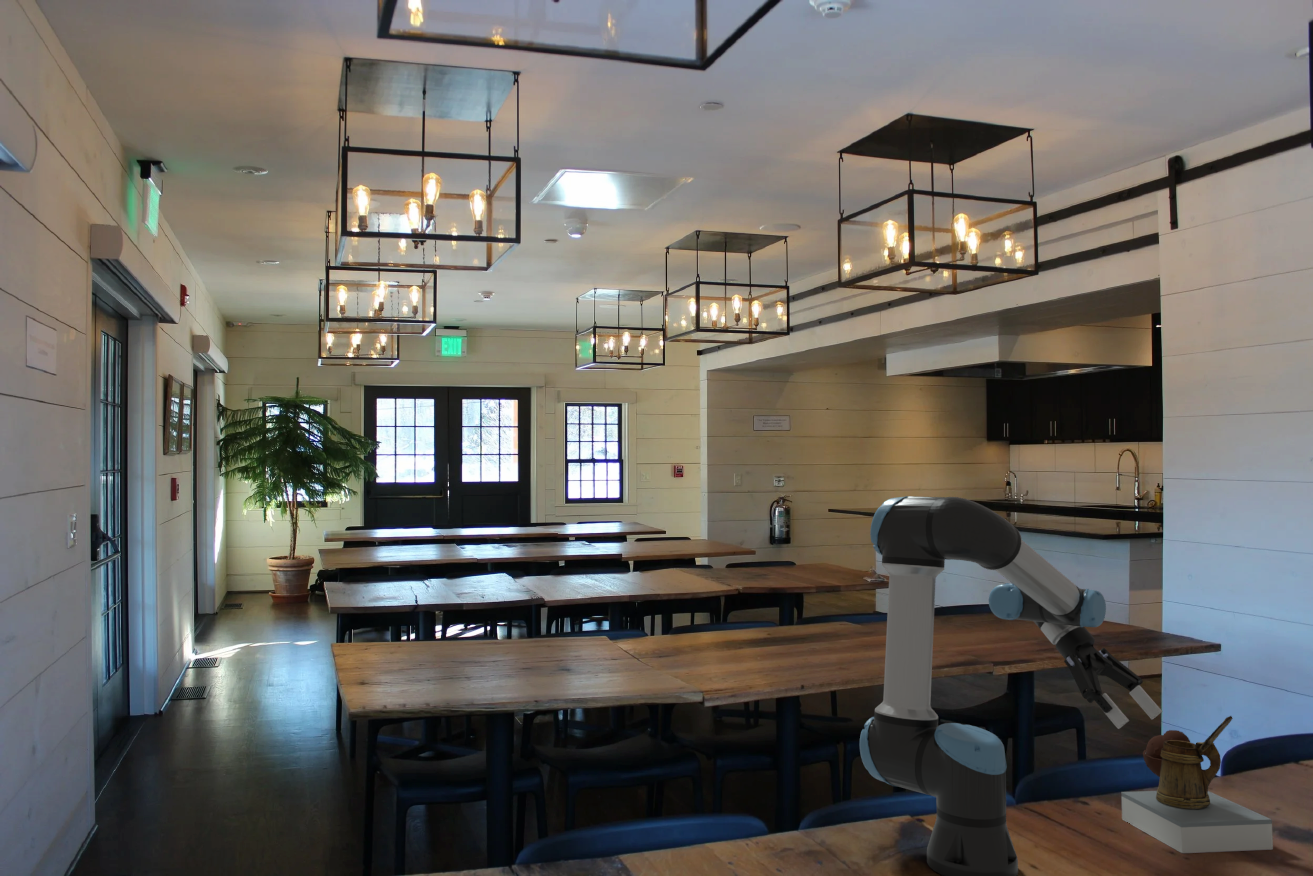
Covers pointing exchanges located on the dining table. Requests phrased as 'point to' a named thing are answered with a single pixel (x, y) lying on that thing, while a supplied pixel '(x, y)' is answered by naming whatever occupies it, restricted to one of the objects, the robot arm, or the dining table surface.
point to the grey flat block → (1198, 824)
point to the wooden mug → (1188, 771)
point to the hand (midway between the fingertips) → (1140, 720)
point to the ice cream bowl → (1155, 746)
